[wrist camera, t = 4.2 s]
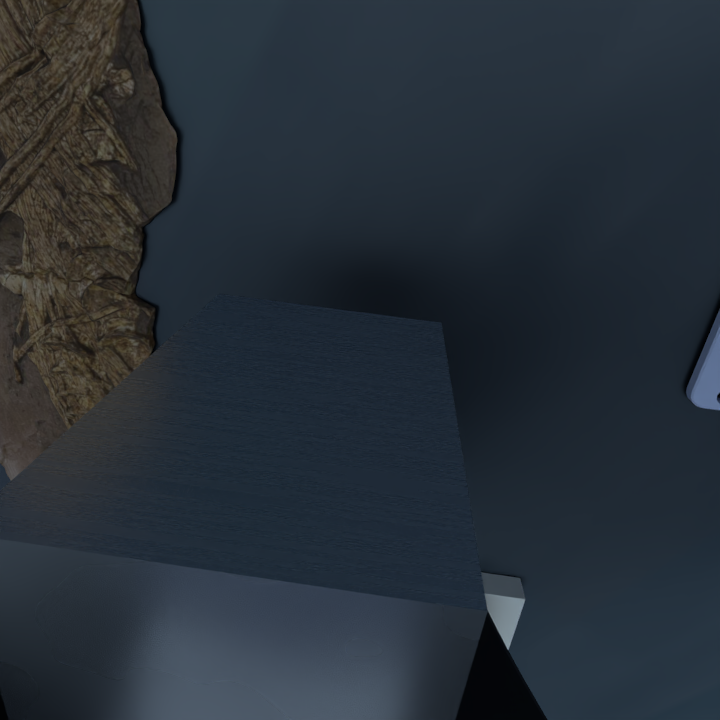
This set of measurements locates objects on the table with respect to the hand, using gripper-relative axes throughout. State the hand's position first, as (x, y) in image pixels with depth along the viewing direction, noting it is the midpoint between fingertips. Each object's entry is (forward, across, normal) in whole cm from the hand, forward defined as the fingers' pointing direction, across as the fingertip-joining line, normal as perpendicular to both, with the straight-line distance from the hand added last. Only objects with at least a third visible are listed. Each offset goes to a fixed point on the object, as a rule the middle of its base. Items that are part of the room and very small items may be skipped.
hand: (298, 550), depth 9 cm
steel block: (+2, 0, 0) cm, 2 cm away
